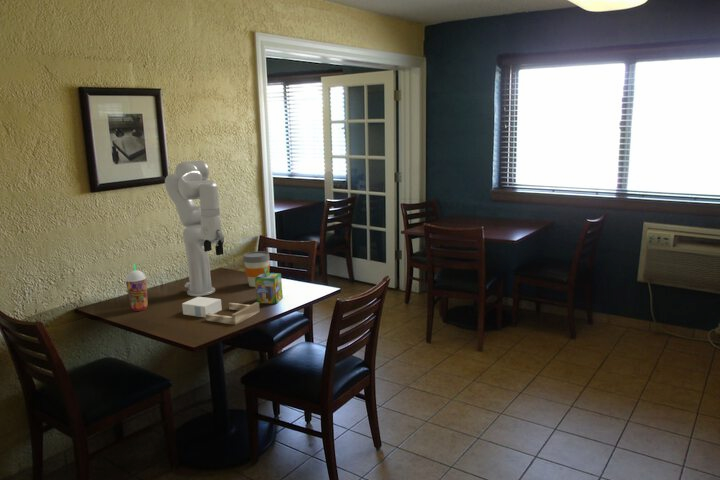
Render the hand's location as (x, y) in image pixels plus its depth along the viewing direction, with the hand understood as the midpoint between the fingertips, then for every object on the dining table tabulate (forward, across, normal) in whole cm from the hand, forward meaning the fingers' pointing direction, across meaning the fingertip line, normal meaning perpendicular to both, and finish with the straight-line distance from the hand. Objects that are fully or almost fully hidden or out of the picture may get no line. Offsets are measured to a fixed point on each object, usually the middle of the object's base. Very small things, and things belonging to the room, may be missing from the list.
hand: (213, 252), depth 241 cm
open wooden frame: (+23, +16, -2) cm, 28 cm away
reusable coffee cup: (+24, -15, +30) cm, 42 cm away
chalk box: (+24, +11, +19) cm, 32 cm away
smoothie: (+24, -24, -25) cm, 42 cm away
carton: (+24, +1, -8) cm, 25 cm away
